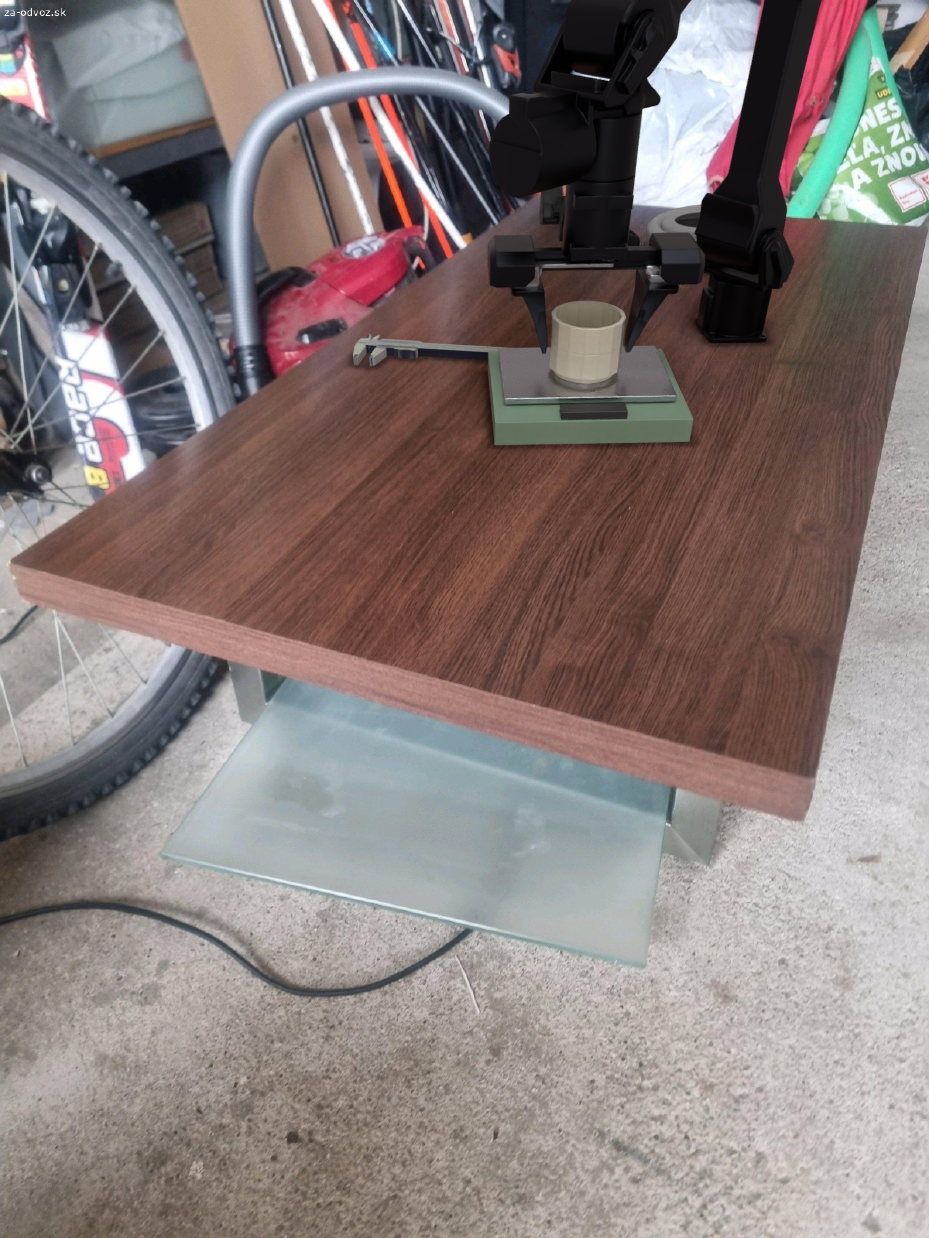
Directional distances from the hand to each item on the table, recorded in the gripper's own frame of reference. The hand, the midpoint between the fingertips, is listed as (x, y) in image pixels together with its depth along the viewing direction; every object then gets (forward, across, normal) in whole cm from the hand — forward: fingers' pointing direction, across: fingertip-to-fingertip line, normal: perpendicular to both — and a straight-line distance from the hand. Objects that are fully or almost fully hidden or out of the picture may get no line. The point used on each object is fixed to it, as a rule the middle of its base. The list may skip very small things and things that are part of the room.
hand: (585, 351), depth 82 cm
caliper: (+5, +13, -8) cm, 16 cm away
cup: (+2, 0, 0) cm, 2 cm away
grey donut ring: (+5, -22, -40) cm, 46 cm away
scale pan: (+3, 0, 0) cm, 3 cm away
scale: (+5, 0, +1) cm, 5 cm away
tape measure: (+5, -9, -42) cm, 43 cm away
